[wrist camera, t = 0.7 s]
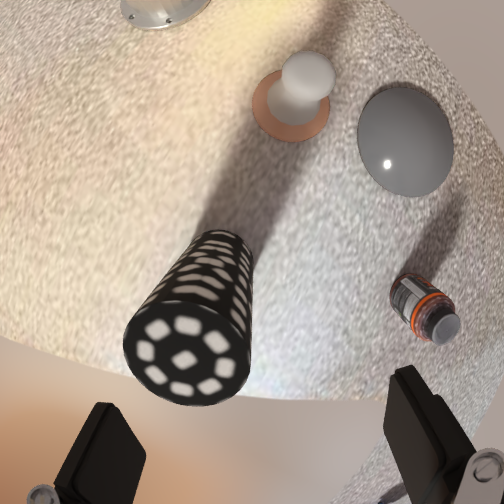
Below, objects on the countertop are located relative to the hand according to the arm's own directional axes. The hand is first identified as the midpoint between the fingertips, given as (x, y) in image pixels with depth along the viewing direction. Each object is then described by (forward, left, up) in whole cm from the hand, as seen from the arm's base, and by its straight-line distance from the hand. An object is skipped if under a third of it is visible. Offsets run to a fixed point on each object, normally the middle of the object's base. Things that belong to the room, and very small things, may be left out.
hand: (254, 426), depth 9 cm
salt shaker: (-14, +7, -29) cm, 33 cm away
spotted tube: (+3, -5, -29) cm, 29 cm away
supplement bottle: (+12, +19, -29) cm, 36 cm away
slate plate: (-8, +21, -29) cm, 36 cm away
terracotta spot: (-14, +7, -29) cm, 33 cm away
